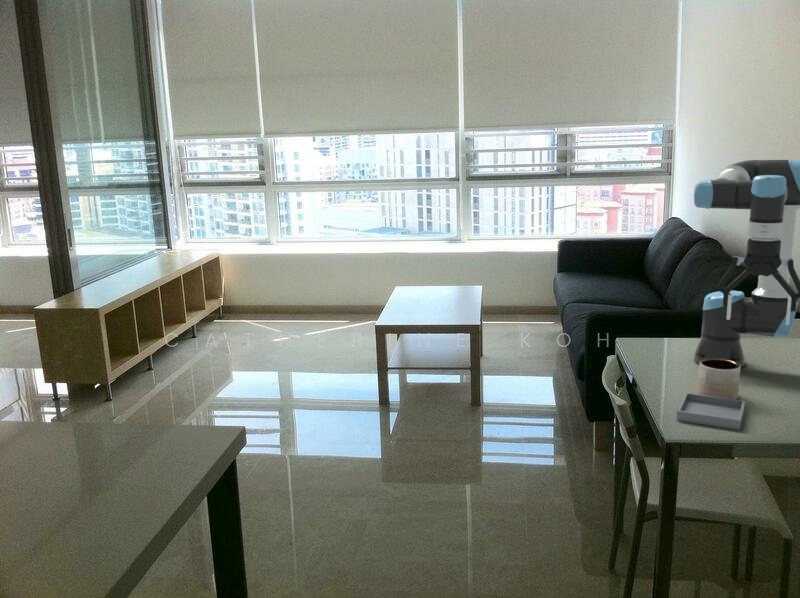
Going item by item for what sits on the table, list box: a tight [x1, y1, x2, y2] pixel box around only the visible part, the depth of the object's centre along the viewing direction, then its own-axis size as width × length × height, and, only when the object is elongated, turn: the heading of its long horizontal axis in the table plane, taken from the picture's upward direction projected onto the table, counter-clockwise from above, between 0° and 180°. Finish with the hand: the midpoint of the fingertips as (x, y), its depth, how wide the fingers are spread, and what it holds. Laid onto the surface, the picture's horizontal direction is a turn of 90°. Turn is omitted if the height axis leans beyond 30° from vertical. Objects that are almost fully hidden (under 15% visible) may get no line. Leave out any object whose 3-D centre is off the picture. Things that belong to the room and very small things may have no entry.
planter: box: [697, 358, 742, 400], centre depth 211 cm, size 11×11×10 cm
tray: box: [676, 392, 746, 431], centre depth 198 cm, size 15×15×2 cm
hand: (757, 321), depth 189 cm, fingers open, 13 cm apart
